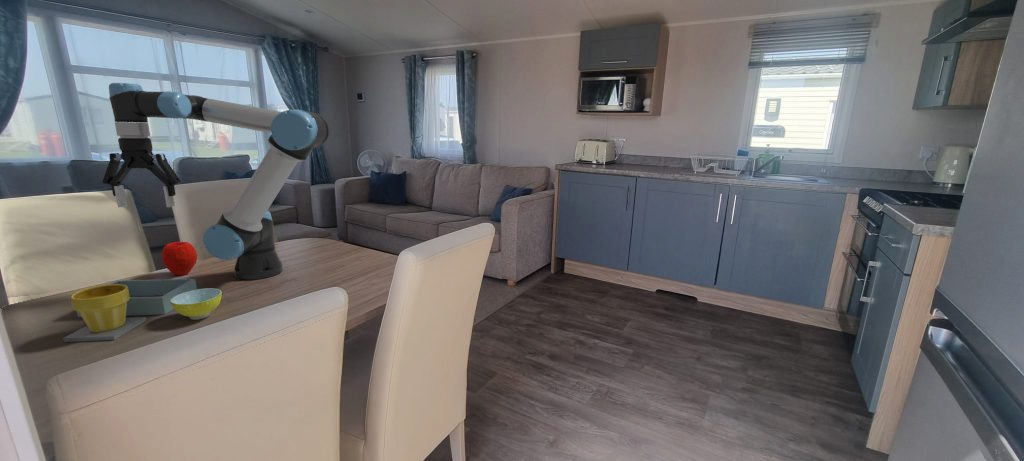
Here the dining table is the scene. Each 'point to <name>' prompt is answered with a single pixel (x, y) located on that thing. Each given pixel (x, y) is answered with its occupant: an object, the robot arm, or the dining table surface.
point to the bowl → (197, 302)
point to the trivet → (87, 335)
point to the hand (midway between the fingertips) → (146, 206)
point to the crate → (151, 288)
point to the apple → (179, 257)
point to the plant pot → (102, 306)
